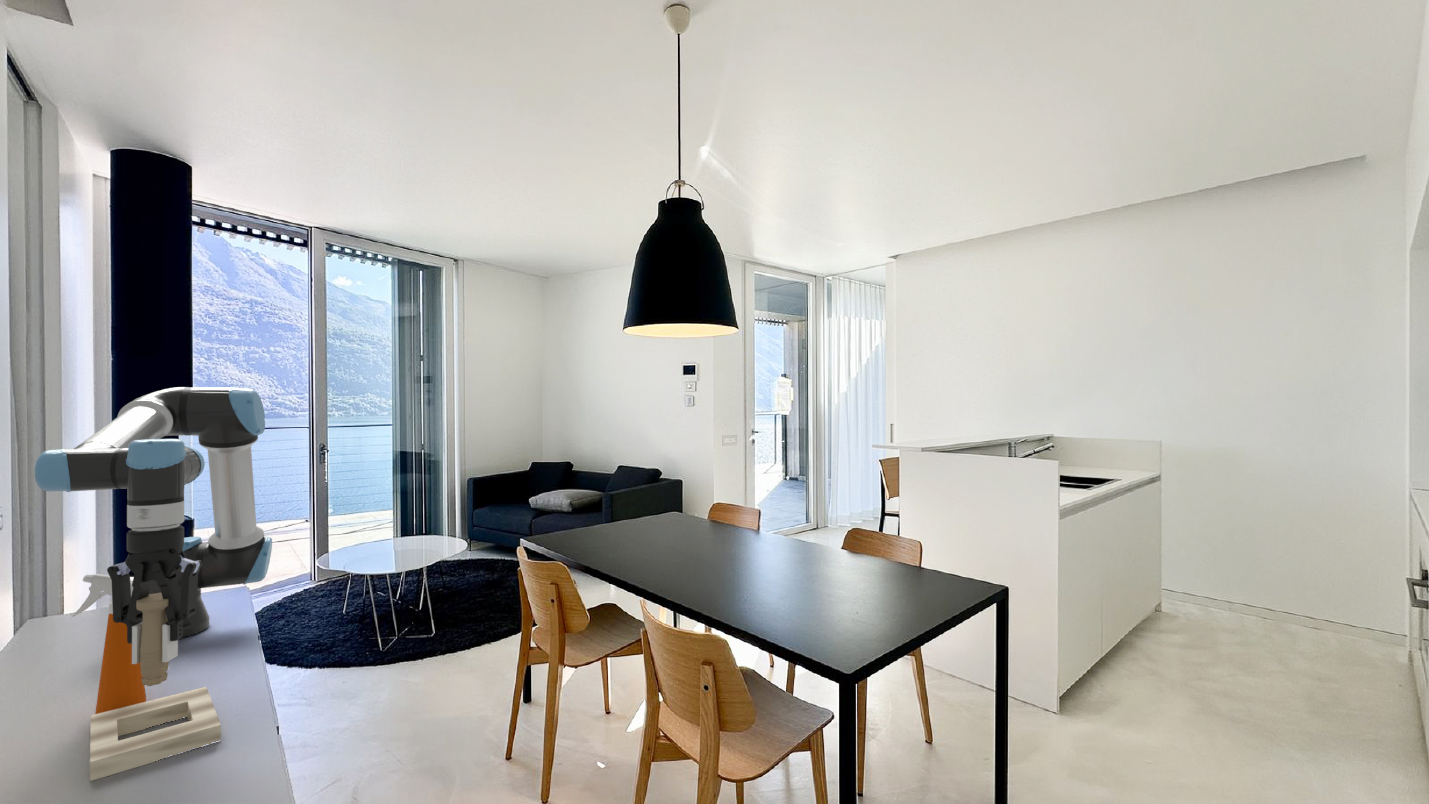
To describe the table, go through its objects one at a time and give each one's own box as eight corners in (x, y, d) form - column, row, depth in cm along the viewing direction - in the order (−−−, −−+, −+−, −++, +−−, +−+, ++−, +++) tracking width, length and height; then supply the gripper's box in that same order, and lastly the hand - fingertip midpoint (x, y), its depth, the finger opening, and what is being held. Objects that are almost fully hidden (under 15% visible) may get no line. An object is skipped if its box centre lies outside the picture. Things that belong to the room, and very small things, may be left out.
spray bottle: (83, 707, 119) (84, 570, 119) (153, 698, 123) (154, 565, 123) (59, 725, 112) (60, 580, 112) (135, 715, 116) (135, 575, 116)
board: (90, 732, 110) (90, 715, 110) (206, 701, 121) (206, 686, 121) (89, 781, 96) (89, 761, 96) (220, 741, 107) (220, 724, 107)
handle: (134, 693, 105) (135, 604, 105) (137, 680, 109) (137, 595, 110) (172, 685, 108) (173, 599, 108) (173, 672, 113) (174, 590, 113)
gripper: (82, 532, 104) (81, 672, 103) (196, 529, 107) (195, 665, 106) (117, 524, 111) (116, 654, 111) (223, 521, 114) (222, 648, 114)
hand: (155, 659), depth 109 cm, fingers closed on handle, 4 cm apart
